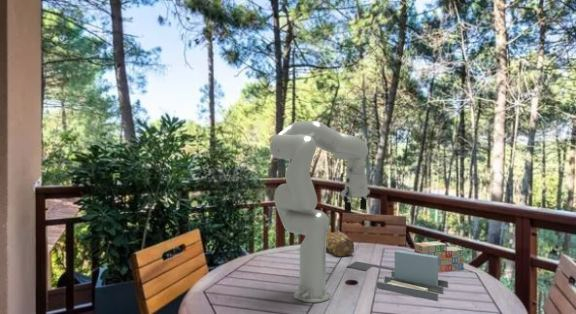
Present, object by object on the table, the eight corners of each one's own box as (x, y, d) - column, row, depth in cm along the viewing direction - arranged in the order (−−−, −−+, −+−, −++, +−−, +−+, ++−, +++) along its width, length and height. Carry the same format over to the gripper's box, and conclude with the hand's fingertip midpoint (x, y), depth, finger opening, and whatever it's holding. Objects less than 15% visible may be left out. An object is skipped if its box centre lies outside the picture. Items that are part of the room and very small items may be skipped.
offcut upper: (423, 296, 138) (423, 292, 138) (386, 287, 147) (386, 283, 147) (427, 292, 141) (427, 288, 141) (391, 284, 150) (391, 280, 150)
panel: (436, 292, 144) (436, 258, 144) (394, 283, 153) (394, 251, 153) (438, 290, 147) (438, 256, 147) (396, 281, 156) (397, 250, 156)
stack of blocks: (454, 266, 178) (454, 239, 178) (463, 270, 172) (464, 242, 172) (414, 269, 172) (414, 242, 172) (422, 274, 166) (422, 245, 166)
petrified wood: (358, 256, 192) (354, 237, 191) (333, 263, 190) (329, 243, 189) (345, 245, 211) (342, 228, 210) (323, 251, 209) (319, 234, 208)
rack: (437, 303, 133) (437, 294, 133) (377, 290, 146) (377, 282, 146) (448, 289, 147) (448, 281, 147) (392, 278, 160) (392, 271, 160)
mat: (394, 276, 162) (394, 275, 162) (346, 267, 174) (346, 266, 174) (401, 270, 170) (401, 269, 170) (355, 262, 183) (355, 261, 183)
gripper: (348, 171, 157) (348, 213, 157) (375, 170, 167) (375, 209, 168) (335, 171, 163) (335, 211, 163) (362, 170, 173) (362, 207, 174)
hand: (355, 210), depth 165 cm, fingers open, 9 cm apart
